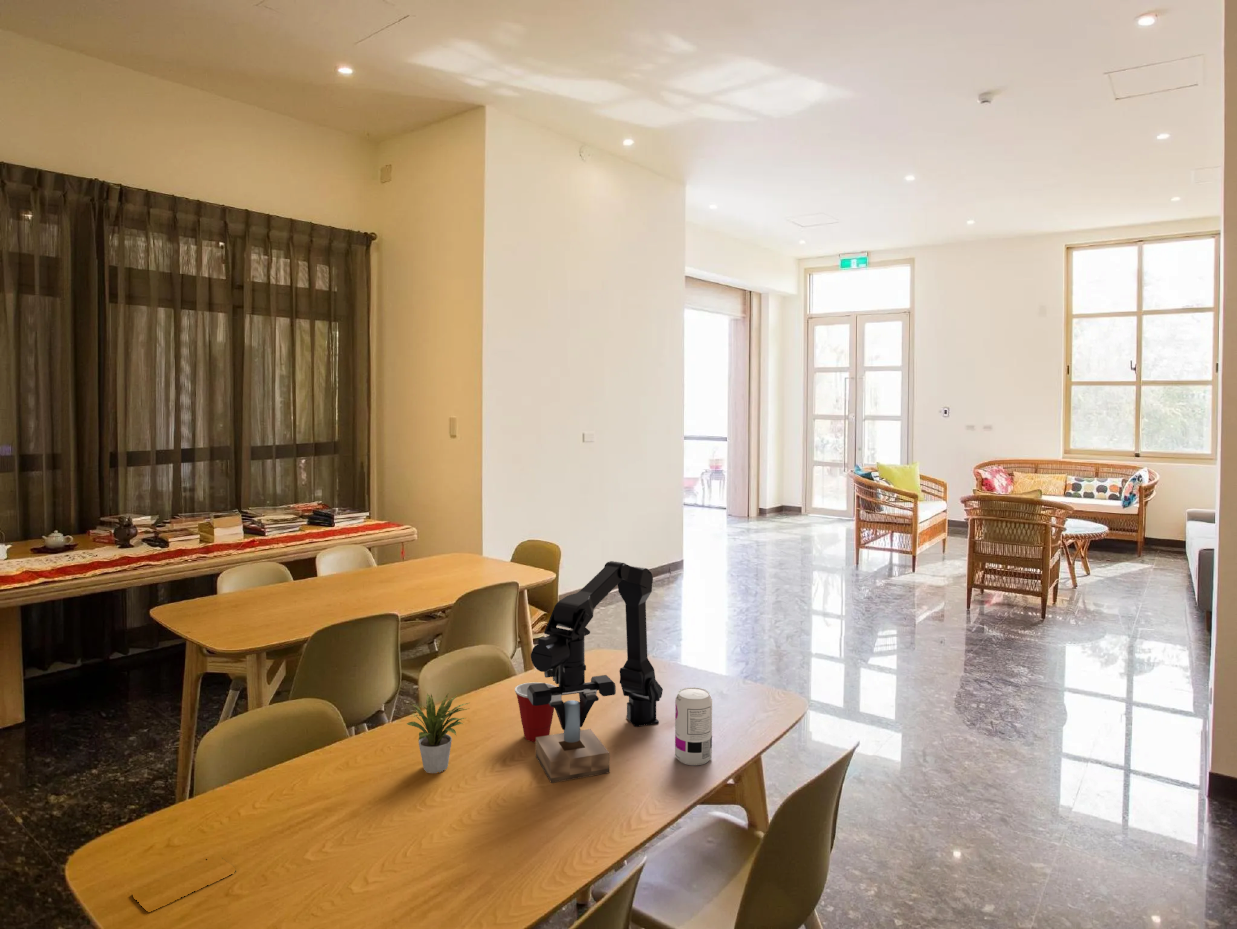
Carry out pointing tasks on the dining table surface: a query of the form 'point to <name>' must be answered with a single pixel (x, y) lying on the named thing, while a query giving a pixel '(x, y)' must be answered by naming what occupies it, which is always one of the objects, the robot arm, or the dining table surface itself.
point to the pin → (572, 721)
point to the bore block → (572, 756)
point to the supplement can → (693, 726)
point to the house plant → (436, 734)
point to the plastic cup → (533, 714)
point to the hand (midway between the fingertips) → (571, 727)
